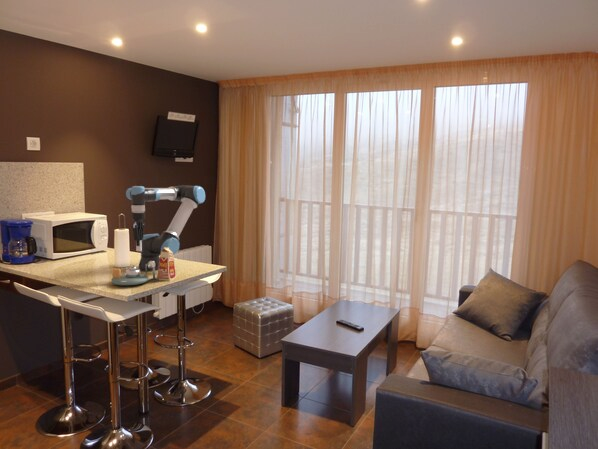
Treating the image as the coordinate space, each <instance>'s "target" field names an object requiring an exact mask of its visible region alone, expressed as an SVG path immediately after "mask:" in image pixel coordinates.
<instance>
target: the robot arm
mask: <svg viewBox="0 0 598 449" xmlns="http://www.w3.org/2000/svg"><path fill="white" fill-rule="evenodd" d="M125 197H126V198H127V199H128V200H131V206H130V208H131V219H132V220H133V224H131V227H132V233H133V234H132V235H133V240H134V241H135V247H136V248H135V249H136V250H135V251H136V252H140V260H139V263H138V266H137V268H138V269H140V271H142V272H146V269H147V272H153V268H152V269H151V268H149V267H148V262H150V261H155V264H156V266H155V271H158V267H159V261H160V255H161V251H162V250H163V249H164V247H166V248H168V247H169V249H170V250H171V251H172V252H173V256H174V255H176V254H177V253H178V252H179V250H180V235H181V233H182V231H183V229H184V228H185V226H186V223H187V222H188V220H189V218H190V216H191V214H192V213H193V210H194V209H197V208H198V206H199V204H203V203H204V202H205V200H206V192H205V190H204V188H203V187H202V186H200V185H185V184H184V185H177V186H176V185H175V186H169V187H145V186H142V185H139V186H138V185H134V186H131V187H129V188H127V189H126V191H125ZM160 200H169V201H173V202H174V201H176V202H181V204H180V206H179V208H178V209H177V211H176V213H175V215H174V217H173V218H172V220H171V222H170V224H169V225H168V227H167V229H166V230H165V231H163V232H162V233H161V234H159V233H149V234H145V225H146V223H145V222H144V220H145V218H146V207H145V206H146V202H157V201H160Z"/></svg>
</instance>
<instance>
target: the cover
mask: <svg viewBox="0 0 598 449" xmlns="http://www.w3.org/2000/svg"><path fill="white" fill-rule="evenodd" d="M140 274H141V270H140V269H138V266H130V267H128V268H127V269H125V275H126V277H127V278H138V277H140Z"/></svg>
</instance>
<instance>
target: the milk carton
mask: <svg viewBox="0 0 598 449" xmlns="http://www.w3.org/2000/svg"><path fill="white" fill-rule="evenodd" d="M159 257H160V261H159V267H158V270H157V274H156V278H157V279H159V280H158V281H167V282H168V281H169V282H171V281H173V280H174V279H176V278H177V270H176V264H175V257H174V255H173V252H172V251H171V250H170V249H169V247H168V248H166V247H164V249H163V250H162V251H161V255H159Z"/></svg>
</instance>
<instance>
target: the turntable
mask: <svg viewBox="0 0 598 449" xmlns="http://www.w3.org/2000/svg"><path fill="white" fill-rule="evenodd" d="M121 272H122V271H121V268H112V278H111V283H112V284H114V285H118V286H127V285H129V286H135V284H136V285H140V284H144V283H147V282H148V281H149V276H148V275H146V274H141V273H140V277H138V278H127V277H126V274H121Z"/></svg>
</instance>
